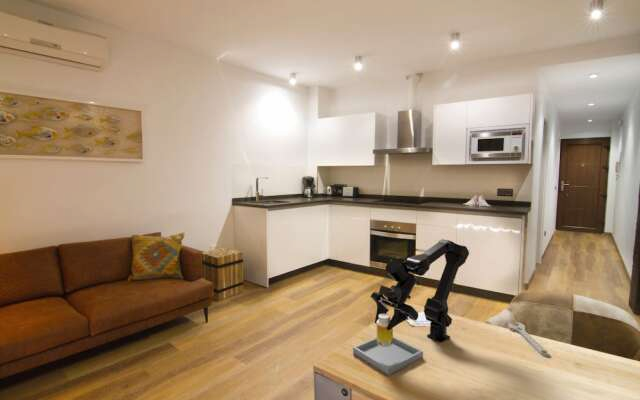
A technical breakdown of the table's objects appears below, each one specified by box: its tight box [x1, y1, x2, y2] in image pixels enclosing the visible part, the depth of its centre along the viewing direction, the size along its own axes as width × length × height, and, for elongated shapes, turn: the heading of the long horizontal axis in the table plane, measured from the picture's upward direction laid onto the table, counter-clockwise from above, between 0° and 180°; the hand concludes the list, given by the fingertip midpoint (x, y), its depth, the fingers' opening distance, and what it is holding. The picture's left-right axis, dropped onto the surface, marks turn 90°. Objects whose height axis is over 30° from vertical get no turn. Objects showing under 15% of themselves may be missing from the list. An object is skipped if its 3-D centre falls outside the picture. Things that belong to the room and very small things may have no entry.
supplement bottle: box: [375, 313, 394, 347], centre depth 120 cm, size 6×6×10 cm
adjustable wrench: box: [507, 321, 550, 358], centre depth 134 cm, size 25×6×2 cm, turn 170°
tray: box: [352, 336, 424, 377], centre depth 125 cm, size 18×18×2 cm
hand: (381, 326), depth 120 cm, fingers closed on supplement bottle, 6 cm apart
